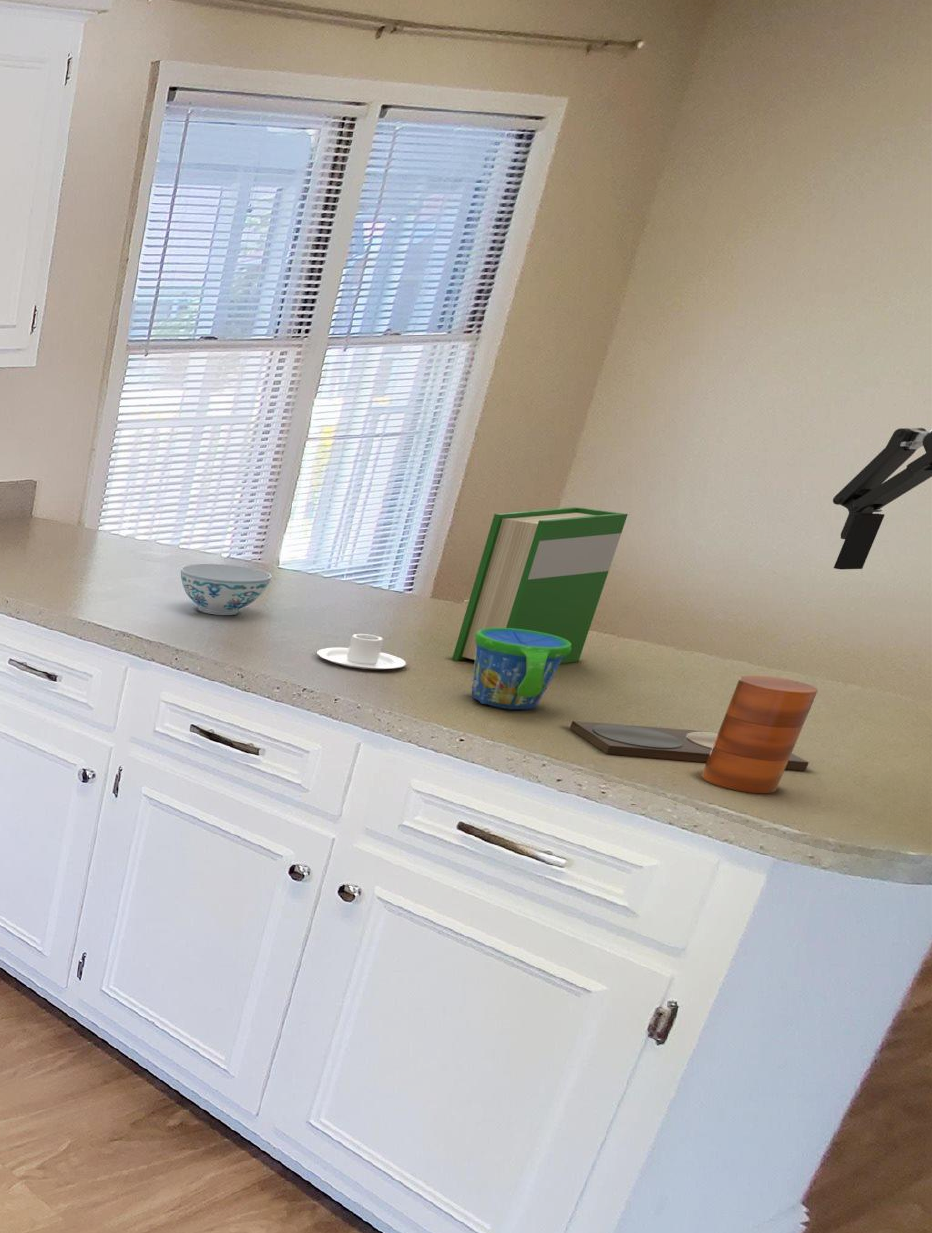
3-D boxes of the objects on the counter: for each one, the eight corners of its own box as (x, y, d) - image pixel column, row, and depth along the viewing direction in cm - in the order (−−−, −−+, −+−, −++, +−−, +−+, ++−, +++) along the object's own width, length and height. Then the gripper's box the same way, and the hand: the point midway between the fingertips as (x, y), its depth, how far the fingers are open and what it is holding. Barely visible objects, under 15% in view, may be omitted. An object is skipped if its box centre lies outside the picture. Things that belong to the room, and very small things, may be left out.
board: (805, 771, 139) (809, 761, 139) (606, 754, 145) (609, 744, 145) (754, 743, 148) (758, 734, 147) (569, 728, 154) (572, 719, 154)
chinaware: (246, 603, 221) (255, 564, 218) (275, 622, 208) (284, 581, 205) (164, 600, 224) (171, 562, 222) (186, 619, 211) (194, 579, 208)
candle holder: (316, 665, 183) (322, 640, 181) (316, 648, 192) (322, 623, 190) (406, 677, 176) (414, 650, 175) (402, 658, 186) (409, 633, 184)
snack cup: (561, 725, 155) (585, 655, 152) (466, 713, 160) (487, 645, 157) (537, 693, 168) (558, 628, 164) (450, 683, 173) (468, 620, 169)
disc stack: (789, 796, 132) (832, 694, 128) (720, 790, 134) (760, 689, 130) (754, 776, 138) (795, 678, 133) (689, 770, 140) (727, 673, 135)
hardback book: (499, 671, 178) (545, 521, 169) (452, 659, 185) (494, 513, 176) (578, 661, 182) (627, 514, 174) (529, 649, 189) (574, 506, 180)
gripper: (1199, 394, 108) (1092, 607, 116) (897, 380, 132) (825, 558, 139) (1125, 396, 108) (1023, 608, 116) (835, 381, 131) (767, 559, 139)
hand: (915, 581), depth 127 cm, fingers open, 13 cm apart
